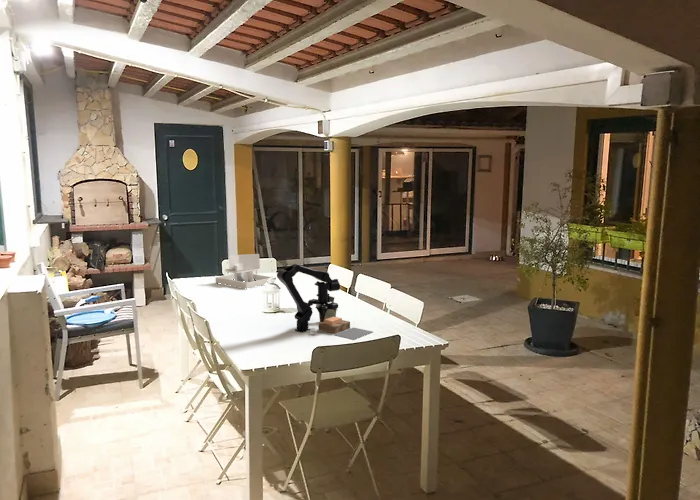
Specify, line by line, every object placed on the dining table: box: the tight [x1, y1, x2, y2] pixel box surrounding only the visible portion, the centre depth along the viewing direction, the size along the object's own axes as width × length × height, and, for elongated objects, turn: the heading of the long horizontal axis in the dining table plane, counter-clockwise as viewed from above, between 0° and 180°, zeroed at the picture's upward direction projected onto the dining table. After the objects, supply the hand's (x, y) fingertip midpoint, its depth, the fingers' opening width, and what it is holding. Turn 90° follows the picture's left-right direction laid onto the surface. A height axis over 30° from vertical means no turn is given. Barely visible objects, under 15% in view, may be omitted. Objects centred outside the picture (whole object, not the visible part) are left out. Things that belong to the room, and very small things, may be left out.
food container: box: [318, 308, 338, 323], centre depth 337 cm, size 12×6×10 cm, turn 72°
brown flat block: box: [318, 319, 351, 335], centre depth 321 cm, size 14×12×4 cm
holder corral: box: [215, 273, 272, 290], centre depth 448 cm, size 29×36×5 cm
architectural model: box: [224, 253, 261, 283], centre depth 447 cm, size 28×21×23 cm
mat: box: [334, 327, 374, 341], centre depth 313 cm, size 18×14×1 cm
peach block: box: [324, 316, 343, 325], centre depth 321 cm, size 9×6×2 cm, turn 143°
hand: (322, 318), depth 326 cm, fingers closed
